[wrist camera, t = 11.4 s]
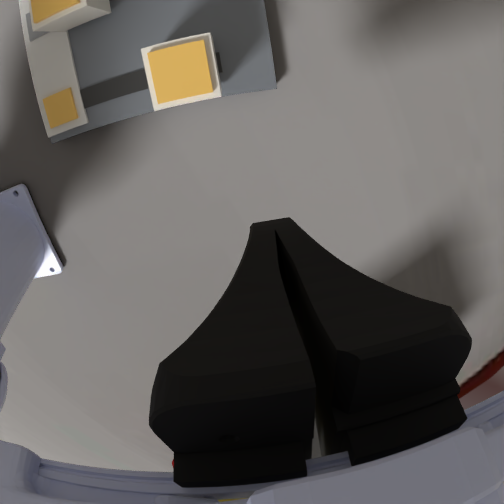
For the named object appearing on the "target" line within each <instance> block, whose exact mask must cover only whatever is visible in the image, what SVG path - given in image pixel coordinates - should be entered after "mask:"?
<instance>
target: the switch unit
mask: <svg viewBox="0 0 504 504" xmlns="http://www.w3.org/2000/svg"><path fill="white" fill-rule="evenodd" d="M109 2H110V8H111V13H109V14H106V15H104V16H101V17H98V18H96V19H93V20H91V21H88V22H86V23H83V24H81V25H78V26H76V27H74V28H72V29H69V30H67V31H65V32H49V31H33V29H32V23H31V16H30V9H29V1H28V0H19V7H20V15H21V22H22V29H23V35H24V41H25V46H26V52H27V57H28V62H29V67H30V71H31V76H32V80H33V84H34V89H35V93H36V97H37V101H38V104H39V108H40V112H41V115H42V119H43V122H44V126H45V129H46V132H47V136H48V138H49V137H50V140H51V143H52V144H53V143H56V142H58V141H61V140H64V139H66V138H69V137H72V136H75V135H77V134H80V133H83V132H86V131H89V130H92V129H95V128H98V127H101V126H104V125H108V124H111V123H114V122H117V121H121V120H124V119H128V118H131V117H135V116H138V115H142V114H146V113H149V112H153V111H154V108H153V103H152V99H151V95H150V90H149V86H148V81H147V77H146V72H145V67H144V62H143V58H142V53H141V49H142V48H145V47H149V46H152V45H156V44H160V43H164V42H168V41H172V40H176V39H180V38H185V37H189V36H194V35H199V34H204V33H211V35H212V37H213V43H214V48H215V54H216V60H217V65H218V71H219V77H220V82H221V88H222V94H221V97H223V96H229V95H235V94H241V93H248V92H255V91H262V90H270V89H277V84H276V77H275V70H274V63H273V56H272V49H271V42H270V36H269V29H268V23H267V16H266V10H265V4H264V0H109ZM217 98H218V97H217ZM206 100H207V99H206ZM201 101H202V100H201ZM196 102H197V101H196ZM182 105H183V104H182ZM173 107H174V106H173ZM169 108H170V107H169Z"/></svg>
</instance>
